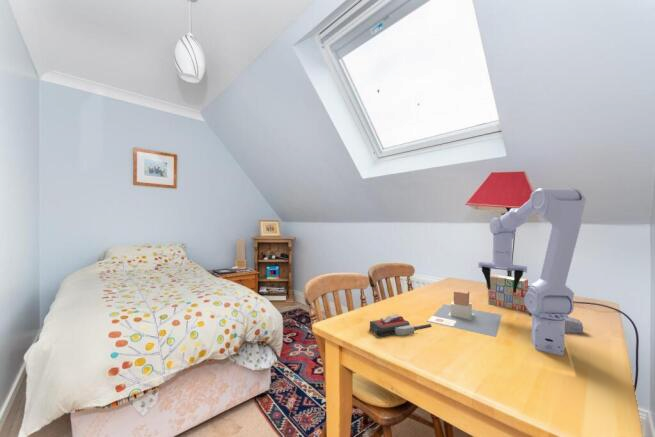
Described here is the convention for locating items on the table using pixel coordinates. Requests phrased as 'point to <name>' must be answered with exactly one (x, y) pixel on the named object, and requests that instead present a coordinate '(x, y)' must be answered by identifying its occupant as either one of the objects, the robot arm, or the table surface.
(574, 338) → the table surface
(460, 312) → the cream base block
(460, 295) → the orange cube
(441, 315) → the board
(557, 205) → the robot arm
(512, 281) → the stack of blocks
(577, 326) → the stone block
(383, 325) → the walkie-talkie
